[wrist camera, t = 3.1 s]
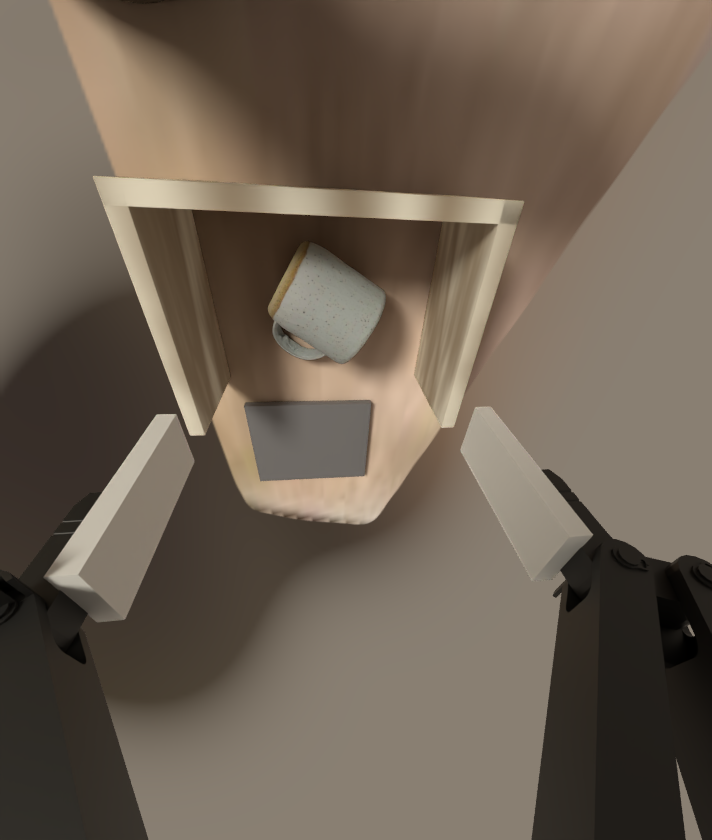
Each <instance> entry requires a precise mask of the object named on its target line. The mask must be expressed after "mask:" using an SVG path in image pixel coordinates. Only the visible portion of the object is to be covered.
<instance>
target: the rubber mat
mask: <svg viewBox="0 0 712 840" xmlns="http://www.w3.org/2000/svg"><path fill="white" fill-rule="evenodd" d="M244 408H245V412H246V417H247V422H248V426H249V431H250V436H251V440H252V445H253V449H254V454H255V459H256V463H257V468H258V472H259V477H260V481H271V480H292V479H313V478H334V477H354V476H364V475H365V465H366V454H367V443H368V433H369V422H370V411H371V401H370V400H347V401H297V402H246V403H245V405H244Z"/></svg>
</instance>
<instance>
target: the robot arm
mask: <svg viewBox="0 0 712 840" xmlns="http://www.w3.org/2000/svg"><path fill="white" fill-rule="evenodd" d="M122 1H127V2H132V3H155V2H160V1H164V0H122ZM460 451H461V453H462V455H463V456H464V458H465V460H466V462H467V464H468V466H469V467H470V469H471V471H472V473H473V475H474V476H475V478H476V480H477V482H478V484H479V486H480V487H481V489H482V491H483V493H484V495H485V497H486V498H487V500H488V502H489V504H490V506H491V507H492V509H493V511H494V513H495V515H496V516H497V518H498V520H499V522H500V524H501V526H502V528H503V529H504V531H505V533H506V535H507V537H508V538H509V540H510V542H511V544H512V546H513V548H514V549H515V551H516V553H517V555H518V557H519V559H520V560H521V562H522V564H523V566H524V568H525V569H526V571H527V573H528V575H529V576H530V579H531V580H532V581H541V580H552V579H553V578H554V577H555V576H556V575H557V574H558V573H559V572H560V571H561V572H562V574H563V575H564V577H565V578H566V580H565V581H564V582H563V583H562V584H561V585H560V586H559V587H558V588H557V589H556V590H555V592H554V594H553V596H554V597H557V596H558V595H559V594H560V593H561V592H562V594H561V602H560V610H559V619H558V626H557V635H556V643H555V651H554V660H553V668H552V676H551V685H550V693H549V700H548V709H547V718H546V725H545V733H544V742H543V751H542V758H541V766H540V774H539V783H538V791H537V799H536V808H535V816H534V824H533V833H532V840H686V839H685V831H684V822H683V814H682V806H681V798H680V789H679V781H678V773H677V764H676V759H677V762H678V765H679V768H680V772H681V775H682V778H683V781H684V784H685V787H686V790H687V793H688V796H689V800H690V803H691V806H692V809H693V812H694V815H695V818H696V821H697V825H698V828H699V831H700V834H701V837H702V840H712V564H710V563H709V562H707V561H705V560H703V559H700V558H697V557H695V556H689V555H685V556H681V557H679V558H678V559H676V560H675V561H674V562H672V563H670V562H666V561H661V560H656V559H652V558H648V557H645V556H644V555H643V554H642V553H641V552H639V551H638V550H637V549H636V548H635V547H633V546H631V545H629V544H627V543H626V542H623V541H620V540H617V539H612V537H611V536H610V535H609V534H608V533H607V532H606V531H605V529H604V528H603V527H602V526H601V525H600V524H599V522H598V521H597V520H596V519H595V518H594V517H593V515H592V514H591V513H590V512H589V511H588V509H587V508H586V507H585V506H584V505H583V504H582V502H579V499H578V498H577V496H576V495H575V494H574V493H573V492H571V489H570V488H569V487H568V486H567V484H566V483H565V482H564V481H563V480H562V479H561V478H560V477H559V476H557V475H556V474H554V473H553V472H552V471H550V470H549V469H547V470H541V469H540V468H539V466H538V465H537V464H536V463H535V462H534V460H533V459H532V458H531V456H530V455H529V454H528V453H527V451H526V450H525V449H524V448H523V446H522V445H521V444H520V443H519V441H518V440H517V439H516V438H515V436H514V435H513V434H512V433H511V431H510V430H509V429H508V428H507V426H506V425H505V424H504V423H503V421H502V420H501V419H500V418H499V416H498V415H497V414H496V412H495V411H494V410H493V409H492V408H491V407H475V410H474V412H473V416H472V418H471V421H470V424H469V427H468V430H467V433H466V435H465V439H464V442H463V444H462V447H461V450H460ZM193 463H194V459H193V456H192V454H191V451H190V448H189V446H188V443H187V441H186V438H185V436H184V433H183V430H182V428H181V425H180V423H179V420H178V417H177V415H176V414H162V415H156V416H155V418H154V419H153V421H152V422H151V423H150V425H149V426H148V428H147V429H146V431H145V432H144V433H143V435H142V436H141V438H140V439H139V441H138V442H137V444H136V445H135V447H134V448H133V449H132V451H131V452H130V454H129V455H128V456H127V458H126V459H125V461H124V462H123V464H122V465H121V467H120V468H119V469H118V471H117V472H116V474H115V475H114V477H113V478H112V480H111V481H110V482H109V484H108V485H107V487H106V488H105V489H104V491H103V492H97V493H89V494H88V495H87V496H86V497H84V498H83V499H82V500H81V501H79V502H78V503H77V504H76V505H74V506H73V508H72V509H71V510H70V512H69V513H68V514H67V516H66V517H65V518H64V520H63V523H61V524H60V525H59V526H58V528H57V529H56V530H55V532H54V535H53V536H51V537H50V538H49V540H48V541H47V542H46V543H45V545H44V546H43V548H42V549H41V550H40V551H39V553H38V554H37V555H36V557H35V558H34V559H33V561H32V562H31V563H30V565H29V566H28V567H27V569H26V570H25V571H24V572H23V574H22V575H21V576H20V578H19V579H17V578H16V577H14V576H13V575H12V574H11V573H9V572H7V571H2V570H0V840H148V837H147V834H146V830H145V827H144V824H143V820H142V817H141V814H140V811H139V807H138V804H137V801H136V798H135V794H134V791H133V788H132V785H131V781H130V778H129V775H128V771H127V768H126V765H125V762H124V759H123V755H122V752H121V749H120V746H119V742H118V739H117V736H116V732H115V729H114V726H113V723H112V719H111V716H110V713H109V709H108V706H107V703H106V700H105V696H104V693H103V690H102V687H101V683H100V680H99V677H98V673H97V670H96V667H95V664H94V661H93V657H92V654H91V651H90V647H89V644H88V641H87V637H86V634H85V632H84V630H83V629H82V628H81V625H82V623H83V622H84V620H85V618H86V616H87V614H88V615H89V616H90V617H91V618H93V619H94V620H95V621H96V622H104V621H114V620H125V618H126V616H127V613H128V611H129V609H130V606H131V604H132V602H133V600H134V598H135V595H136V593H137V591H138V588H139V586H140V584H141V582H142V579H143V577H144V575H145V573H146V570H147V568H148V566H149V563H150V561H151V559H152V557H153V554H154V552H155V550H156V547H157V545H158V543H159V541H160V539H161V536H162V534H163V532H164V529H165V527H166V525H167V523H168V520H169V518H170V516H171V514H172V511H173V509H174V507H175V504H176V502H177V500H178V498H179V495H180V493H181V491H182V488H183V486H184V484H185V482H186V479H187V477H188V475H189V472H190V470H191V468H192V466H193ZM688 625H691V628H692V630H693V632H694V634H695V636H692V634H691V633H690V631H689V629H688V627H687V626H688Z"/></svg>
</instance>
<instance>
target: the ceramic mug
mask: <svg viewBox="0 0 712 840" xmlns="http://www.w3.org/2000/svg"><path fill="white" fill-rule="evenodd" d="M385 301H386V294H385V292H384V290H382V289H381V288H380V287H378V286H377V285H375V284H374V283H373V282H371V281H370V280H368V279H367V278H366V277H364V276H363V275H361V274H360V273H359V272H357V271H356V270H354V269H353V268H352V267H350V266H348V265H347V264H346V263H344V262H343V261H341V260H340V259H339V258H337V257H336V256H335V255H333V254H332V253H331V252H329V251H328V250H326V249H325V248H323V247H321V246H319V245H317V244H315V243H313V242H310V241H306V242H302V243H301V244H300V245H299V247H298V249H297V251H296V253H295V255H294V257H293V259H292V260H291V262H290V264H289V266H288V268H287V270H286V272H285V274H284V276H283V278H282V280H281V282H280V284H279V286H278V288H277V290H276V292H275V294H274V296H273V298H272V300H271V302H270V304H269V306H268V312H269V315H270V316H271V318H272V319H273V320H274V324H273V336H274V338H275V340H276V342H277V343H278V344H279V346H280V347H281V348H283V349H284V350H285V351H286V352H288V353H289V354H291V355H293V356H295V357H297V358H300V359H304V360H314V359H318V358H321V357H323V356H325V355H326V356H328V357H329V358H331V359H332V360H334V361H335V362H337V363H340V364H343V363H346V362H348V361H349V360H350V359H351V358H353V357H354V356H355V355H356V354H357V353H358V352H359V350H360V349H361V348H362V347H363V345H364V344H365V343H366V341H367V340H368V338H369V337H370V335H371V334H372V332H373V331H374V329H375V327H376V326H377V324H378V322H379V320H380V318H381V315H382V312H383V309H384V307H385ZM281 327H283V328H284V329H286V330H287V331H289V332H290V333H292V334H294V335H295V336H297V337H299V338H301V339H302V340H304V341H305V342H307V343H308V344H310V345H311V346H313V347H314V348H315V349H308V348H305V347H302V346H300V345H299V344H297V343H296V342H294V341H293V340H292V339H290V338H289V337H288V336H287V335H285V334H284V333H283V331H282V329H281Z"/></svg>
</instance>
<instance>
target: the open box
mask: <svg viewBox="0 0 712 840" xmlns="http://www.w3.org/2000/svg"><path fill="white" fill-rule="evenodd" d="M93 179H94V181H95V183H96V186H97V189H98V192H99V194H100V197H101V200H102V203H103V205H104V208H105V210H106V213H107V216H108V218H109V221H110V223H111V226H112V229H113V232H114V234H115V237H116V240H117V242H118V245H119V248H120V250H121V253H122V256H123V258H124V261H125V263H126V266H127V269H128V272H129V274H130V277H131V279H132V282H133V285H134V287H135V290H136V293H137V295H138V298H139V301H140V304H141V306H142V309H143V312H144V314H145V316H146V320H147V322H148V325H149V328H150V330H151V333H152V335H153V338H154V341H155V343H156V346H157V349H158V351H159V354H160V357H161V359H162V362H163V365H164V367H165V370H166V373H167V375H168V378H169V381H170V383H171V386H172V389H173V391H174V394H175V397H176V399H177V402H178V405H179V407H180V410H181V413H182V415H183V418H184V420H185V423H186V426H187V429H188V431H189V433H190V435H205V434H206V431H207V429H208V427H209V425H210V422H211V420H212V418H213V415H214V413H215V411H216V409H217V406H218V404H219V402H220V400H221V397H222V395H223V393H224V391H225V388H226V386H227V384H228V382H229V379H230V377H231V376H230V372H229V368H228V363H227V359H226V355H225V350H224V346H223V342H222V337H221V333H220V329H219V325H218V320H217V316H216V312H215V307H214V303H213V299H212V295H211V290H210V286H209V282H208V277H207V273H206V269H205V264H204V260H203V256H202V252H201V247H200V243H199V239H198V234H197V230H196V226H195V222H194V217H193V213H192V209H195V210H216V211H237V212H258V213H278V214H299V215H320V216H341V217H362V218H383V219H404V220H424V221H442V226H441V232H440V237H439V243H438V248H437V253H436V259H435V264H434V270H433V275H432V280H431V286H430V291H429V297H428V302H427V307H426V313H425V318H424V324H423V329H422V334H421V340H420V345H419V351H418V356H417V361H416V367H415V372H414V376H415V378H416V380H417V381H418V383H419V385H420V387H421V389H422V391H423V393H424V395H425V397H426V399H427V401H428V403H429V405H430V407H431V409H432V410H433V412H434V414H435V416H436V418H437V420H438V422H439V424H440V426H441V428H446V427H454V424H455V422H456V419H457V415H458V412H459V409H460V406H461V403H462V399H463V396H464V393H465V390H466V387H467V383H468V380H469V377H470V374H471V371H472V367H473V364H474V361H475V358H476V355H477V351H478V348H479V345H480V342H481V339H482V335H483V332H484V329H485V326H486V323H487V319H488V316H489V313H490V310H491V307H492V303H493V300H494V297H495V294H496V291H497V287H498V284H499V281H500V278H501V275H502V271H503V268H504V265H505V262H506V259H507V255H508V252H509V249H510V246H511V243H512V239H513V236H514V233H515V230H516V227H517V223H518V220H519V217H520V214H521V211H522V207H523V204H524V201H520V200H507V199H494V198H482V197H469V196H455V195H437V194H420V193H403V192H386V191H368V190H351V189H334V188H317V187H300V186H282V185H265V184H248V183H231V182H214V181H196V180H179V179H159V178H132V177H105V176H104V177H103V176H93Z"/></svg>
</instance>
